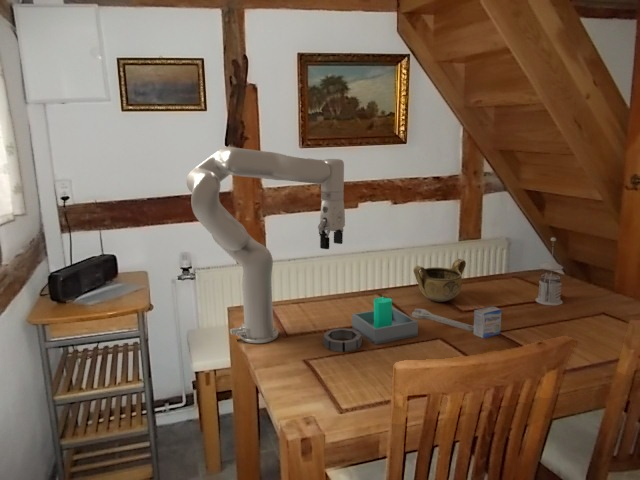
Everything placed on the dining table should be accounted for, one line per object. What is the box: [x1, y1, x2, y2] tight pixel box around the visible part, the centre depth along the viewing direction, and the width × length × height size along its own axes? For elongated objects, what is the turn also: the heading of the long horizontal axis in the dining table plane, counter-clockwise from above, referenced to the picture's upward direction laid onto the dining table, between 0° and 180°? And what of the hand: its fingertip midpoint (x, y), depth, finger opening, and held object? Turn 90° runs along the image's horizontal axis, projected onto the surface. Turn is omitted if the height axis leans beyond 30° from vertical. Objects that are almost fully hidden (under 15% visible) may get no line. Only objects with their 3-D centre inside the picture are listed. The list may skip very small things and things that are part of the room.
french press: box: [534, 237, 564, 306], centre depth 212 cm, size 10×12×25 cm
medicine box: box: [473, 305, 502, 340], centre depth 184 cm, size 8×4×9 cm, turn 117°
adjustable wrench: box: [411, 308, 474, 332], centre depth 196 cm, size 25×6×2 cm, turn 40°
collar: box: [322, 327, 363, 353], centre depth 179 cm, size 12×12×3 cm
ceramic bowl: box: [413, 258, 467, 303], centre depth 218 cm, size 22×17×15 cm
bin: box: [351, 306, 419, 345], centre depth 188 cm, size 16×16×5 cm
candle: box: [373, 296, 393, 328], centre depth 187 cm, size 6×6×12 cm
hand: (331, 246), depth 192 cm, fingers open, 9 cm apart
